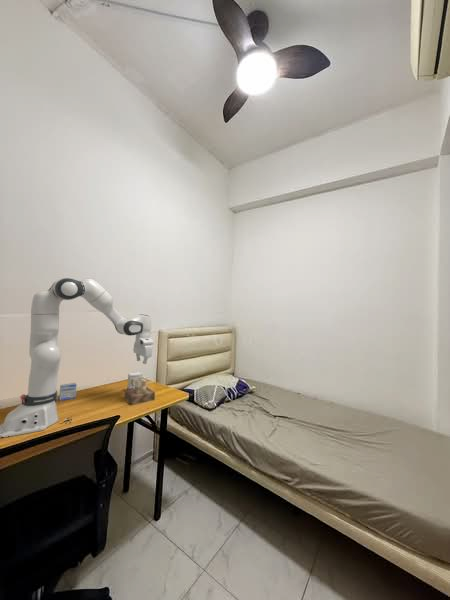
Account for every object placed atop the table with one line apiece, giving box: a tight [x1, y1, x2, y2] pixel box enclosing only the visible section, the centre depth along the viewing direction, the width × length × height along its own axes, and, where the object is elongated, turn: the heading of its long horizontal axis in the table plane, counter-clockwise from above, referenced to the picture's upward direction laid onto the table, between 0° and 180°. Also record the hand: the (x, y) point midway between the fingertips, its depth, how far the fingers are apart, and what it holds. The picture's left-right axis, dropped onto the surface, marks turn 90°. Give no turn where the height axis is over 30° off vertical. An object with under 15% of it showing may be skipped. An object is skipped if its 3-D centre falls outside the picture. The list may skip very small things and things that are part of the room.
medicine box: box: [59, 382, 77, 402], centre depth 144 cm, size 8×4×9 cm, turn 131°
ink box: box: [126, 371, 143, 391], centre depth 161 cm, size 9×5×12 cm, turn 126°
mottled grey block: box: [135, 378, 147, 394], centre depth 148 cm, size 5×5×7 cm
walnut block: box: [124, 386, 156, 406], centre depth 147 cm, size 14×12×5 cm
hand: (141, 362), depth 148 cm, fingers open, 8 cm apart
